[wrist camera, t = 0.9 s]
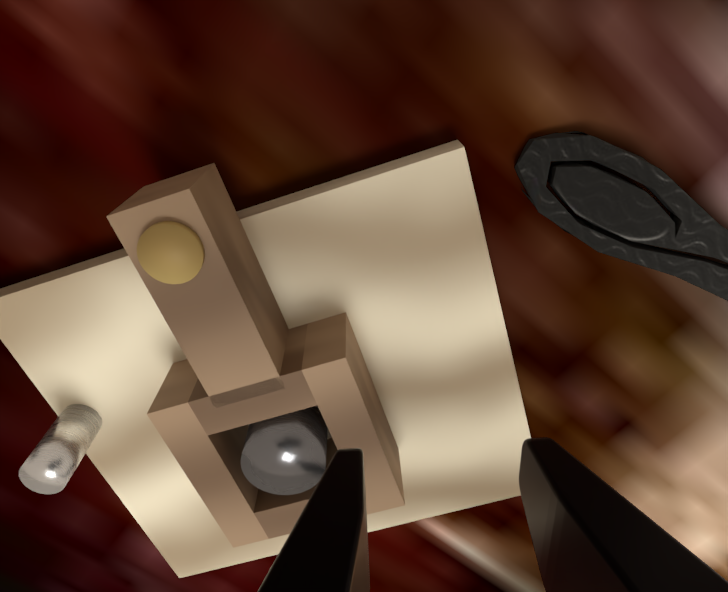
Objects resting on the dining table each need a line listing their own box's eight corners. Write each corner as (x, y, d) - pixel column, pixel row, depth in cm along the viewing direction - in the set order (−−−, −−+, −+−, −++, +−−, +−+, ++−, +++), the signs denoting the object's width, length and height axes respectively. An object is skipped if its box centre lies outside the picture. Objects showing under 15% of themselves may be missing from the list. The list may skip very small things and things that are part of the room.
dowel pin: (109, 429, 22) (75, 488, 19) (75, 439, 22) (35, 498, 19) (88, 399, 21) (49, 455, 18) (53, 410, 21) (9, 467, 19)
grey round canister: (339, 407, 23) (337, 483, 19) (274, 425, 23) (260, 503, 20) (315, 352, 22) (308, 422, 18) (247, 371, 22) (226, 444, 18)
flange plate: (398, 448, 23) (406, 511, 20) (246, 488, 24) (231, 554, 21) (280, 140, 17) (265, 164, 14) (81, 207, 18) (28, 244, 15)
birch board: (534, 470, 25) (542, 489, 24) (186, 556, 27) (179, 578, 26) (457, 139, 18) (464, 146, 17) (-5, 290, 20) (-25, 305, 19)
